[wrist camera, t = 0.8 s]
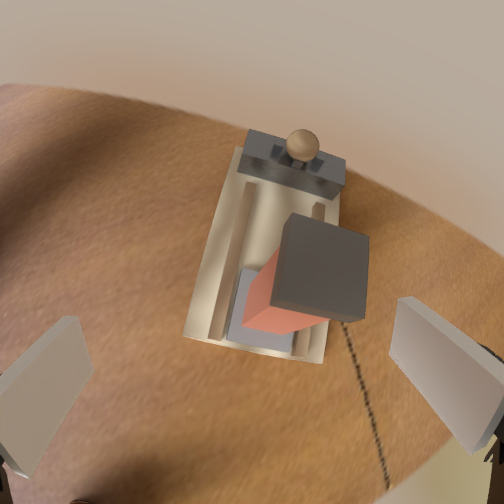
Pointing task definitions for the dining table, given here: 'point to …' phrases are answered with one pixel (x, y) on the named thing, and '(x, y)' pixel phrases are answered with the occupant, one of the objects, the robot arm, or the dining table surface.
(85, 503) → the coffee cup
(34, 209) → the dining table surface
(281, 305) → the handle
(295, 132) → the brown ball
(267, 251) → the cream base plate
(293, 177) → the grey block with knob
